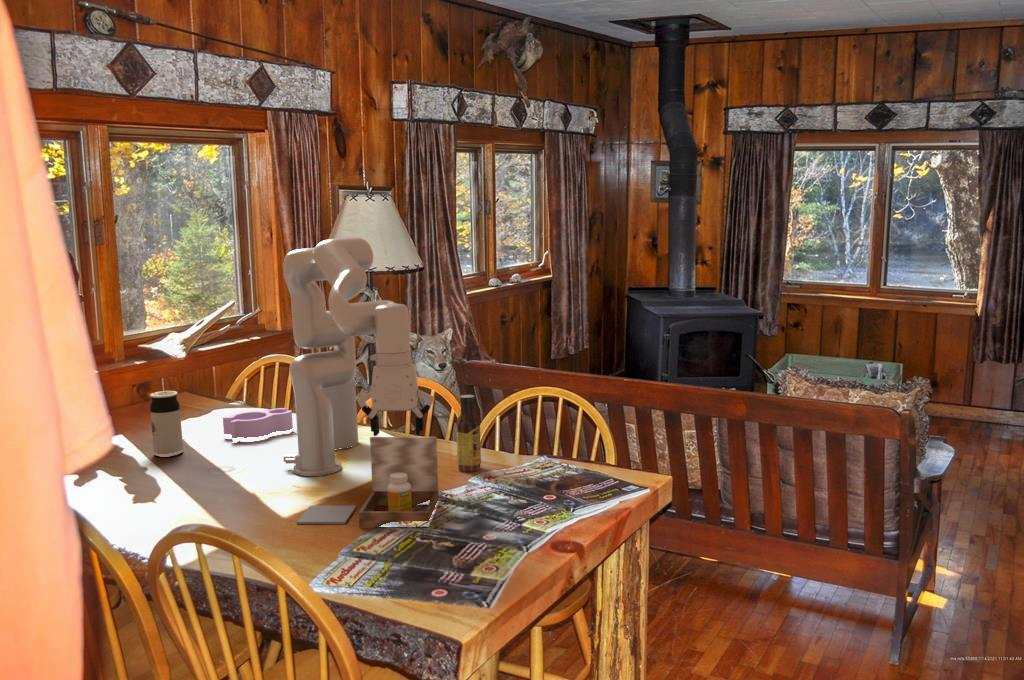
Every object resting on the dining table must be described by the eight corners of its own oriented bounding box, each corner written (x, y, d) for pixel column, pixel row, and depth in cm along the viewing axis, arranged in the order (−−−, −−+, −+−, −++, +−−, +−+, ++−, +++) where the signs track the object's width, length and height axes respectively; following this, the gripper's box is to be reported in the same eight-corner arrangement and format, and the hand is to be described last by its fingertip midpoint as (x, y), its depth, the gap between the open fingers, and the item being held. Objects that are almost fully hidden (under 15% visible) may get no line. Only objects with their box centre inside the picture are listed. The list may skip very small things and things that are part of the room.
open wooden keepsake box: (359, 527, 208) (355, 455, 206) (373, 504, 224) (370, 437, 221) (429, 527, 207) (426, 455, 205) (439, 504, 223) (436, 436, 220)
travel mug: (183, 449, 277) (178, 389, 274) (183, 456, 269) (178, 394, 266) (154, 452, 274) (149, 391, 271) (153, 459, 267) (148, 397, 264)
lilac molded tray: (282, 427, 301) (281, 406, 300) (298, 434, 291) (297, 412, 290) (221, 438, 290) (219, 416, 288) (235, 446, 280) (234, 423, 279)
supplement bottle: (402, 521, 212) (400, 479, 210) (383, 517, 215) (381, 476, 213) (417, 514, 216) (415, 473, 215) (398, 510, 219) (396, 470, 218)
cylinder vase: (365, 445, 276) (361, 362, 272) (325, 453, 269) (320, 367, 265) (347, 437, 286) (343, 356, 282) (308, 444, 279) (303, 361, 275)
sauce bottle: (478, 473, 246) (475, 399, 243) (454, 472, 248) (452, 398, 244) (483, 466, 253) (481, 393, 250) (461, 465, 254) (458, 393, 251)
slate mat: (296, 524, 211) (296, 522, 211) (310, 507, 222) (310, 505, 222) (345, 524, 211) (345, 521, 211) (356, 507, 222) (356, 505, 222)
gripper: (351, 363, 207) (356, 439, 209) (429, 361, 205) (433, 437, 208) (359, 357, 214) (363, 430, 216) (434, 355, 213) (438, 429, 215)
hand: (397, 434), depth 212 cm, fingers open, 9 cm apart
